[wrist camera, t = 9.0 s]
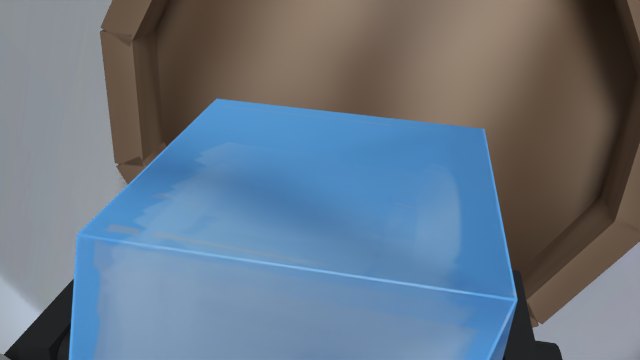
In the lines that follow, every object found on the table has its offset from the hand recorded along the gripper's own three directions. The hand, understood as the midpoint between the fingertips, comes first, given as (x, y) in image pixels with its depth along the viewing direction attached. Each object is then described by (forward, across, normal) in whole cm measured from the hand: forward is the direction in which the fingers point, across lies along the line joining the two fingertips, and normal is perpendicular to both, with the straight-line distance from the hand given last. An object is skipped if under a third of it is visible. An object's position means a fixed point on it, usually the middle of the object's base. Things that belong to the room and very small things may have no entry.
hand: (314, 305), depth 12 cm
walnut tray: (+13, 0, 0) cm, 13 cm away
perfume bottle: (+3, 0, 0) cm, 3 cm away
